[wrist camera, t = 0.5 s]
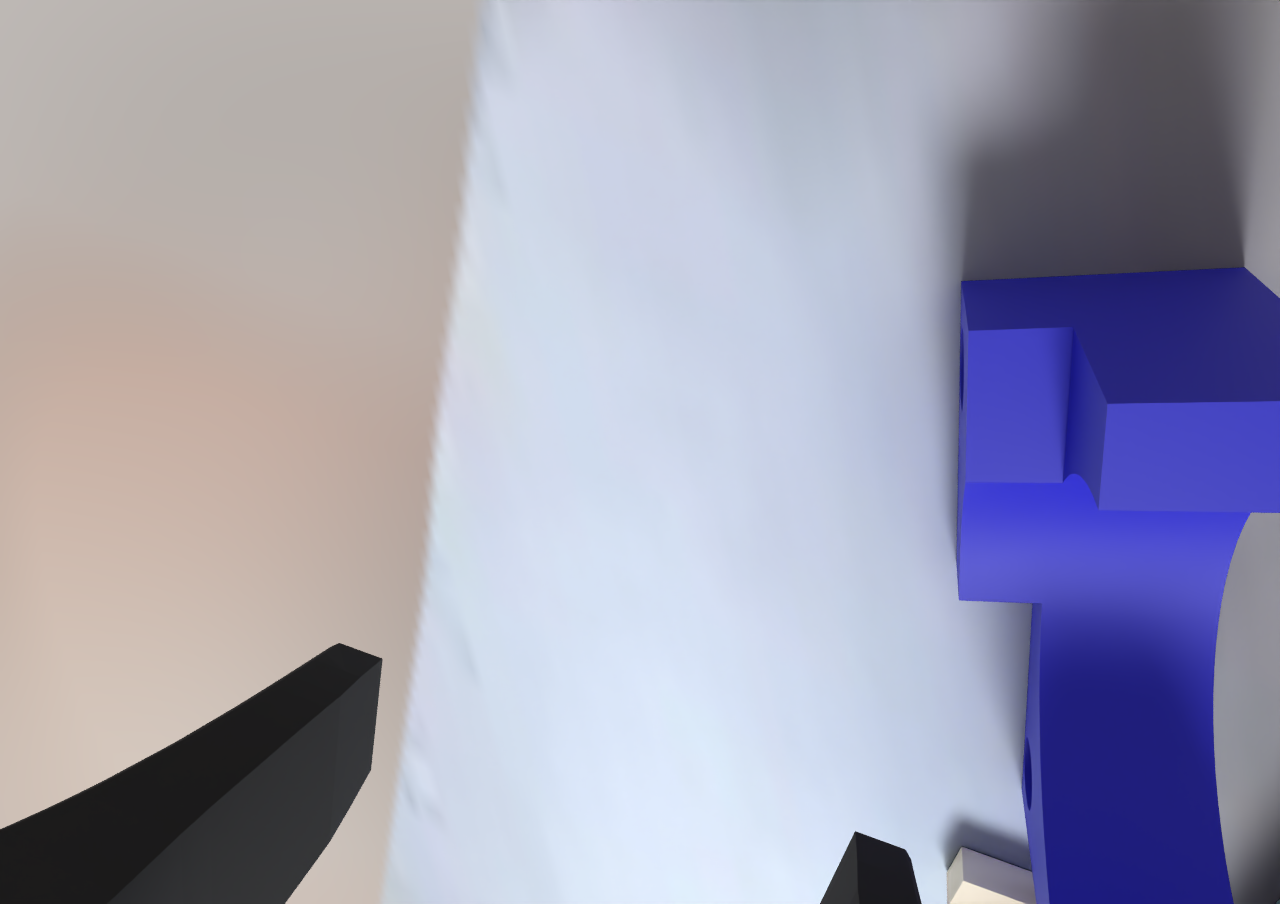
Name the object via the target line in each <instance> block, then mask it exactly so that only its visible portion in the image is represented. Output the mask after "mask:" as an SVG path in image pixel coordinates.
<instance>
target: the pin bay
mask: <svg viewBox="0 0 1280 904" xmlns="http://www.w3.org/2000/svg"><path fill="white" fill-rule="evenodd" d="M947 904H1036V897H1035V889H1034V881H1033V873H1032V872H1031V871H1028V870H1025V869H1022V868H1019V867H1017V866H1014V865H1011V864H1008V863H1006V862H1003V861H1000V860H997V859H995V858H992V857H989V856H986V855H984V854H981V853H978V852H975V851H973V850H970V849H967V848H964V847H961V849H960V850H959V852H958V854H957V856H956V857H955V859H954V861H953V863H952V864H951V866H950V868H949V870H948V871H947ZM1276 904H1280V899H1279V900H1278V902H1277V903H1276Z"/></svg>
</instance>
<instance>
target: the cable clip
mask: <svg viewBox="0 0 1280 904" xmlns="http://www.w3.org/2000/svg"><path fill="white" fill-rule="evenodd" d="M1251 512H1260V513H1280V298H1279V297H1278V296H1276V295H1275V294H1274V293H1273V292H1272V291H1271V290H1270V289H1269V288H1267V287H1266V286H1265V285H1264V284H1263V283H1262V282H1261V281H1259V280H1258V279H1257V278H1256V277H1255V276H1254V275H1253V274H1252V273H1250V272H1249V271H1248V270H1247V269H1246V268H1245V267H1241V268H1220V269H1200V270H1179V271H1159V272H1139V273H1118V274H1098V275H1077V276H1057V277H1036V278H1016V279H995V280H975V281H961V333H960V392H959V451H958V511H957V578H958V593H959V600H965V601H990V602H1015V603H1032V620H1031V638H1030V656H1029V673H1028V691H1027V709H1026V726H1025V744H1024V762H1023V779H1022V795H1023V803H1024V810H1025V818H1026V826H1027V834H1028V842H1029V850H1030V858H1031V865H1032V873H1033V881H1034V889H1035V897H1036V904H1234V903H1233V898H1232V893H1231V888H1230V882H1229V876H1228V871H1227V865H1226V859H1225V852H1224V846H1223V839H1222V832H1221V824H1220V815H1219V807H1218V797H1217V785H1216V774H1215V757H1214V733H1213V686H1214V664H1215V649H1216V639H1217V630H1218V621H1219V614H1220V608H1221V601H1222V596H1223V591H1224V586H1225V581H1226V577H1227V573H1228V569H1229V566H1230V562H1231V558H1232V555H1233V552H1234V549H1235V546H1236V543H1237V540H1238V538H1239V536H1240V533H1241V531H1242V529H1243V526H1244V524H1245V522H1246V520H1247V519H1248V517H1249V515H1250V513H1251Z"/></svg>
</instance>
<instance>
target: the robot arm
mask: <svg viewBox="0 0 1280 904" xmlns="http://www.w3.org/2000/svg"><path fill="white" fill-rule="evenodd" d="M381 668H382V658H379V657H376V656H374V655H371V654H368V653H365V652H363V651H360V650H357V649H354V648H352V647H349V646H346V645H344V644H340V643H338V644H336V645H334V646H332V647H330V648H328V649H327V650H325V651H324V652H322V653H321V654H319V655H317V656H316V657H314V658H313V659H311V660H310V661H308V662H306V663H305V664H303V665H302V666H300V667H299V668H297V669H295V670H294V671H292V672H291V673H289V674H288V675H286V676H284V677H283V678H281V679H280V680H278V681H277V682H275V683H273V684H272V685H270V686H269V687H267V688H266V689H264V690H262V691H261V692H259V693H257V694H256V695H254V696H252V697H251V698H249V699H248V700H246V701H244V702H243V703H241V704H240V705H238V706H236V707H235V708H233V709H231V710H229V711H228V712H226V713H224V714H223V715H221V716H220V717H218V718H216V719H214V720H213V721H211V722H209V723H207V724H206V725H204V726H202V727H201V728H199V729H197V730H196V731H194V732H192V733H190V734H189V735H187V736H186V737H184V738H182V739H180V740H179V741H177V742H175V743H173V744H171V745H170V746H168V747H166V748H164V749H162V750H160V751H158V752H157V753H155V754H153V755H151V756H149V757H147V758H145V759H144V760H142V761H140V762H138V763H136V764H134V765H133V766H130V767H128V768H127V769H125V770H123V771H121V772H120V773H117V774H115V775H114V776H112V777H110V778H108V779H106V780H104V781H102V782H100V783H98V784H96V785H94V786H92V787H90V788H88V789H86V790H84V791H82V792H80V793H79V794H76V795H74V796H72V797H70V798H68V799H66V800H64V801H62V802H60V803H57V804H55V805H53V806H51V807H49V808H47V809H45V810H42V811H40V812H38V813H36V814H34V815H31V816H29V817H27V818H25V819H22V820H20V821H18V822H16V823H14V824H11V825H9V826H7V827H5V828H2V829H0V904H285V902H286V901H287V900H288V898H289V897H290V896H291V895H292V893H293V892H294V890H295V889H296V888H297V886H298V885H299V884H300V882H301V881H302V879H303V878H304V876H305V875H306V874H307V873H308V871H309V870H310V868H311V867H312V865H313V864H314V863H315V861H316V860H317V859H318V857H319V856H320V855H321V853H322V852H323V850H324V849H325V848H326V846H327V845H328V843H329V842H330V840H331V839H332V837H333V835H334V834H335V832H336V830H337V828H338V827H339V825H340V823H341V822H342V820H343V818H344V817H345V815H346V813H347V811H348V810H349V808H350V806H351V804H352V803H353V801H354V799H355V797H356V796H357V794H358V792H359V790H360V788H361V786H362V785H363V783H364V781H365V779H366V778H367V776H368V774H369V772H370V771H371V764H372V754H373V745H374V734H375V725H376V716H377V706H378V696H379V686H380V677H381ZM820 904H921V900H920V896H919V892H918V887H917V883H916V879H915V875H914V871H913V866H912V862H911V859H910V857H909V855H908V853H907V851H906V850H905V849H902V848H900V847H897V846H894V845H891V844H889V843H886V842H883V841H880V840H878V839H875V838H872V837H869V836H867V835H864V834H861V833H859V832H856V831H855V833H854V835H853V837H852V839H851V841H850V843H849V845H848V847H847V849H846V851H845V853H844V856H843V858H842V860H841V862H840V864H839V866H838V868H837V870H836V872H835V874H834V876H833V878H832V880H831V882H830V884H829V886H828V888H827V891H826V893H825V895H824V897H823V899H822V901H821V903H820Z"/></svg>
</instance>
